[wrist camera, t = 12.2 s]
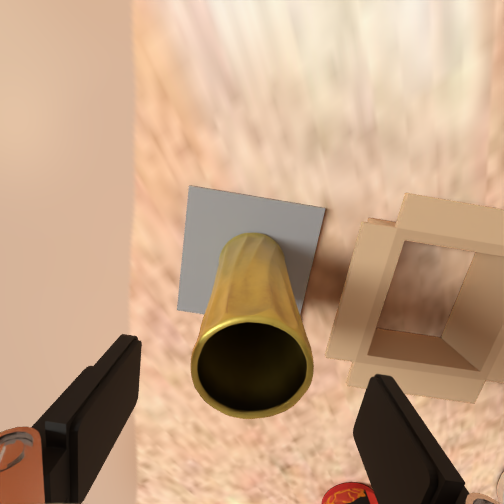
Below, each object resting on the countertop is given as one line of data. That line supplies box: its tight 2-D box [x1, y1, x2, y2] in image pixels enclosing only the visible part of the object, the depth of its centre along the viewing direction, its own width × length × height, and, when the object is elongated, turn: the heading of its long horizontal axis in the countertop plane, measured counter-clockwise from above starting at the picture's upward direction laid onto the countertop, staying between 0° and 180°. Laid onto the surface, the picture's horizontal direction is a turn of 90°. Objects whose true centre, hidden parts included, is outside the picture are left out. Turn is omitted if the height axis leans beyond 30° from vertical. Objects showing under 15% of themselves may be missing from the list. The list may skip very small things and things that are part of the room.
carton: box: [325, 193, 504, 404], centre depth 24 cm, size 17×17×5 cm
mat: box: [177, 186, 325, 314], centre depth 25 cm, size 12×12×1 cm
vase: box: [191, 233, 314, 419], centre depth 18 cm, size 6×6×14 cm
